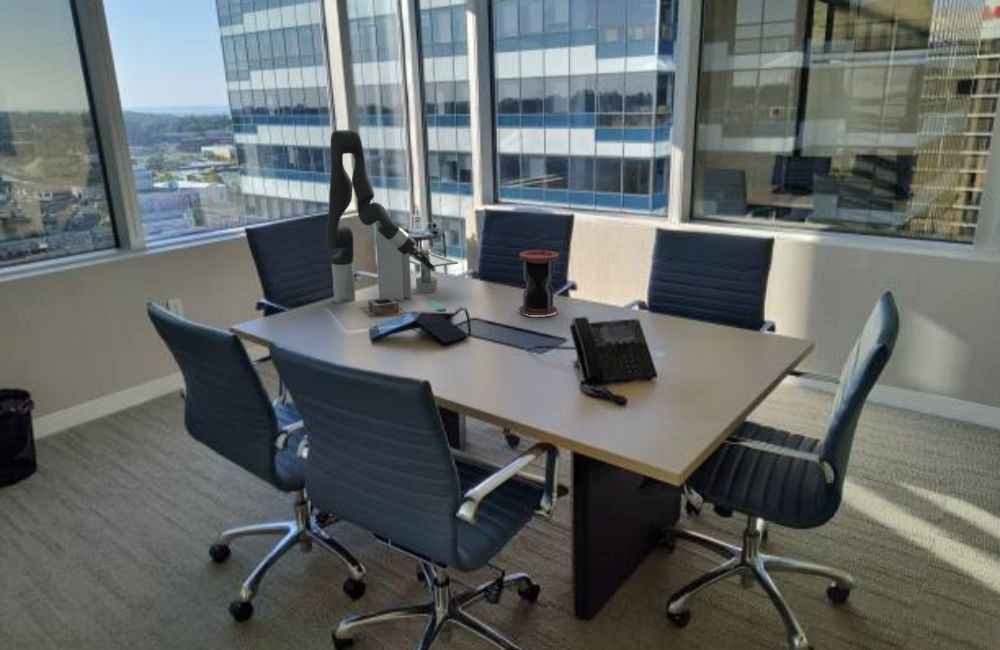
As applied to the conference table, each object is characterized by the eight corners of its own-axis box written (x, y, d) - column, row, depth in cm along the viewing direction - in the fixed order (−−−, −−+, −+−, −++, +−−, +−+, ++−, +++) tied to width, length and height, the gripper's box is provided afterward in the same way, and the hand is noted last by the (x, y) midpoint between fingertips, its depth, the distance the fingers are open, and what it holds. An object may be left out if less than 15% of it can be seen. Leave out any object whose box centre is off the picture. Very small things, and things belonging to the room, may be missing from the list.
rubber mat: (408, 305, 298) (408, 303, 297) (434, 302, 303) (434, 300, 302) (419, 314, 286) (418, 311, 285) (446, 310, 291) (445, 308, 290)
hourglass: (565, 313, 286) (567, 254, 279) (534, 320, 277) (535, 259, 270) (541, 305, 299) (542, 248, 291) (511, 311, 290) (511, 252, 283)
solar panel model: (458, 293, 318) (457, 261, 314) (425, 298, 309) (424, 266, 305) (429, 281, 340) (429, 251, 336) (398, 286, 331) (397, 255, 326)
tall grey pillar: (411, 300, 307) (408, 233, 298) (403, 303, 302) (400, 235, 293) (387, 295, 314) (384, 230, 305) (379, 298, 310) (375, 232, 301)
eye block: (359, 309, 292) (358, 298, 290) (395, 305, 298) (394, 293, 297) (371, 322, 275) (370, 309, 273) (409, 317, 281) (409, 305, 280)
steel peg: (419, 281, 292) (418, 249, 288) (429, 280, 293) (428, 248, 289) (423, 283, 288) (422, 250, 284) (432, 282, 290) (431, 249, 286)
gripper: (412, 236, 275) (441, 263, 284) (401, 231, 288) (430, 257, 296) (400, 250, 275) (430, 277, 283) (390, 244, 287) (418, 270, 295)
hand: (430, 266), depth 290 cm, fingers closed on steel peg, 4 cm apart
